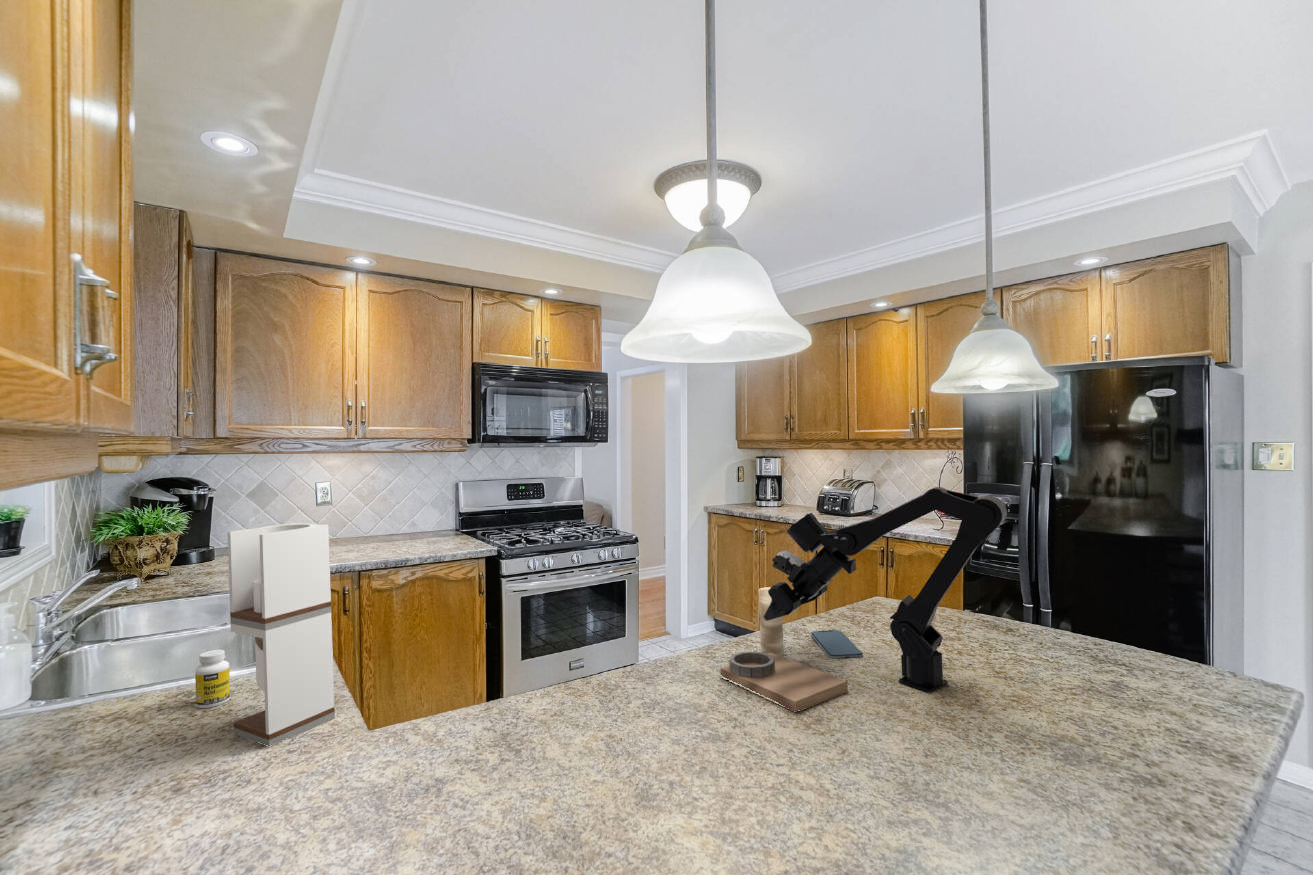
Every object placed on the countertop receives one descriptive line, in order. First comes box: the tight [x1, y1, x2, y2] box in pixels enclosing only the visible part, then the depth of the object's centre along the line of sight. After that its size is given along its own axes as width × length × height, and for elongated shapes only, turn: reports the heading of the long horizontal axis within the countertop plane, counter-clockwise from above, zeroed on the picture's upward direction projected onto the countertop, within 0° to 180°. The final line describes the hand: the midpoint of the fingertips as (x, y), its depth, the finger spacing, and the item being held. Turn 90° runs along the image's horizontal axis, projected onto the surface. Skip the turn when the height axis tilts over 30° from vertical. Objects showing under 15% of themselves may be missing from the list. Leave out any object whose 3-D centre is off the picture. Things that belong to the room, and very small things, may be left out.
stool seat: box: [719, 650, 849, 713], centre depth 117 cm, size 20×14×4 cm
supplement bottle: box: [194, 649, 231, 709], centre depth 118 cm, size 5×5×10 cm
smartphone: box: [810, 629, 864, 660], centre depth 138 cm, size 8×2×15 cm
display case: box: [227, 522, 336, 746], centre depth 107 cm, size 11×11×35 cm
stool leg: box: [758, 586, 785, 657], centre depth 135 cm, size 5×5×14 cm
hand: (774, 613), depth 134 cm, fingers open, 9 cm apart
